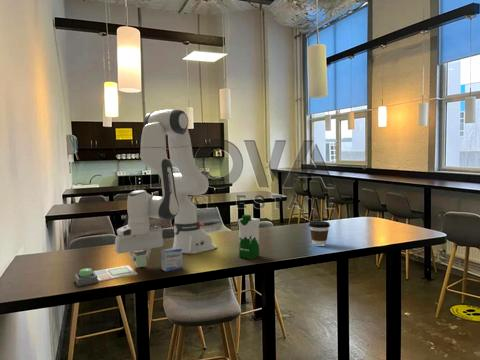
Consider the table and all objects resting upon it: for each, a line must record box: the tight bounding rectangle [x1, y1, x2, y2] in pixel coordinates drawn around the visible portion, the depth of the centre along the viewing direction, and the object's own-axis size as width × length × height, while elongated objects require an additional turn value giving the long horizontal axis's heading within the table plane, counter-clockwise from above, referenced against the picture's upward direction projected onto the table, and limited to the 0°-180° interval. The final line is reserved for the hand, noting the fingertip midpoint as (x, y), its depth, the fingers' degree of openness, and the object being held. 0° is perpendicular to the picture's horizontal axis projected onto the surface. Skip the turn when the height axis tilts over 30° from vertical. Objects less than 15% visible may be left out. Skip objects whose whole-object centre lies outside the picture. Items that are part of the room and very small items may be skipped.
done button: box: [79, 267, 93, 278], centre depth 143 cm, size 4×4×3 cm
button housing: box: [74, 270, 99, 287], centre depth 143 cm, size 7×7×2 cm
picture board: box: [93, 264, 138, 283], centre depth 152 cm, size 15×13×1 cm
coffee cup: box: [308, 220, 331, 245], centre depth 193 cm, size 11×11×12 cm
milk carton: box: [237, 214, 261, 260], centre depth 173 cm, size 9×9×20 cm
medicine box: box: [160, 247, 183, 272], centre depth 157 cm, size 8×4×9 cm, turn 126°
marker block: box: [133, 250, 147, 268], centre depth 159 cm, size 4×4×6 cm
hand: (140, 260), depth 159 cm, fingers closed on marker block, 4 cm apart
